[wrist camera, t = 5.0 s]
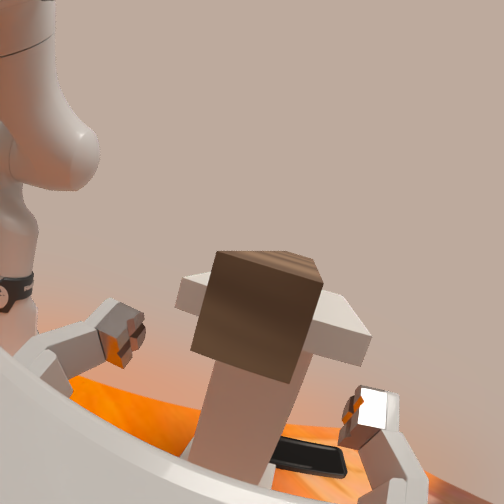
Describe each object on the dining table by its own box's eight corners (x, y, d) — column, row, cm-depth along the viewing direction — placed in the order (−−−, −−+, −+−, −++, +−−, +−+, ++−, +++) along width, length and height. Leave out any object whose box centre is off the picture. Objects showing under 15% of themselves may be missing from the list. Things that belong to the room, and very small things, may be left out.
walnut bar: (289, 383, 8) (323, 283, 8) (190, 350, 9) (217, 250, 9) (304, 286, 34) (312, 259, 34) (277, 278, 35) (285, 251, 34)
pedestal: (250, 565, 19) (372, 336, 18) (134, 523, 21) (182, 277, 20) (273, 469, 37) (342, 295, 35) (192, 441, 39) (242, 265, 37)
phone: (253, 429, 45) (341, 447, 44) (251, 434, 45) (338, 452, 44) (248, 457, 37) (348, 476, 36) (246, 462, 37) (345, 481, 36)
